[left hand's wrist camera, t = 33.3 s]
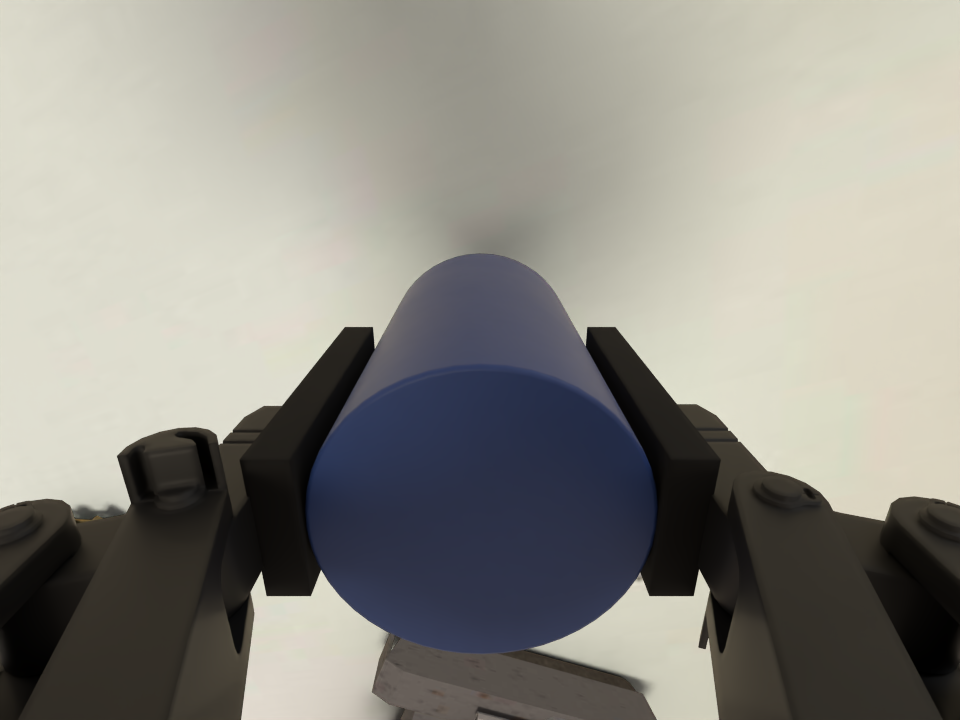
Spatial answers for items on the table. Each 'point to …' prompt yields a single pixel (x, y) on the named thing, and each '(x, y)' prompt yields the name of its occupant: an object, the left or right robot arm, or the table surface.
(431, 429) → the canister
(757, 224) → the table surface
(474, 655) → the toy
